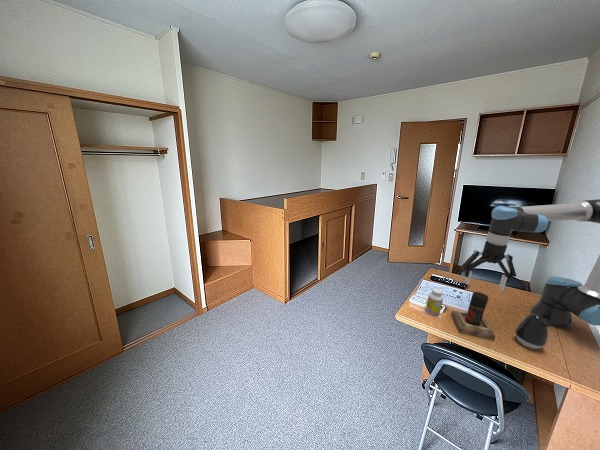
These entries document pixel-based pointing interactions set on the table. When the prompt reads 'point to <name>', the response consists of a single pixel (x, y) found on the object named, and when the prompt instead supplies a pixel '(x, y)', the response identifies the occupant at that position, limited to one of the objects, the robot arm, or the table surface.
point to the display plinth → (472, 326)
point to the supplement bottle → (434, 302)
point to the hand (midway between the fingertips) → (483, 285)
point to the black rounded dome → (533, 331)
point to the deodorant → (476, 308)
